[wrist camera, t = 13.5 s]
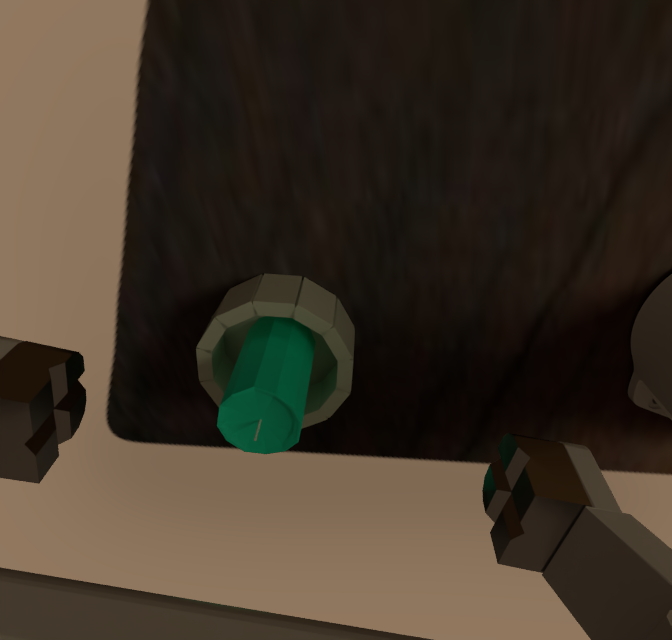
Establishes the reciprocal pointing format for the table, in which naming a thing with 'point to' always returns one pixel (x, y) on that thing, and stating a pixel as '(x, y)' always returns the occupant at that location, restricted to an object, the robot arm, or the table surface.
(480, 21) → the table surface
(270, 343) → the candle
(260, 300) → the dish
